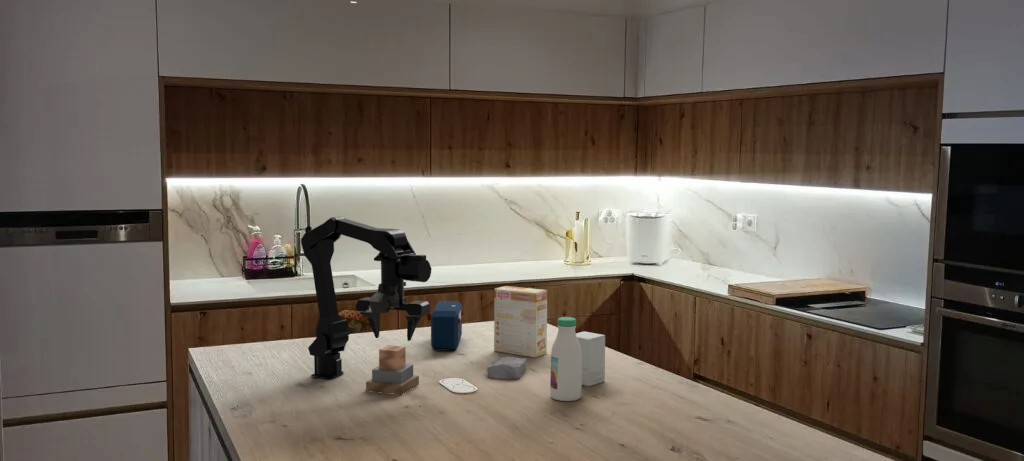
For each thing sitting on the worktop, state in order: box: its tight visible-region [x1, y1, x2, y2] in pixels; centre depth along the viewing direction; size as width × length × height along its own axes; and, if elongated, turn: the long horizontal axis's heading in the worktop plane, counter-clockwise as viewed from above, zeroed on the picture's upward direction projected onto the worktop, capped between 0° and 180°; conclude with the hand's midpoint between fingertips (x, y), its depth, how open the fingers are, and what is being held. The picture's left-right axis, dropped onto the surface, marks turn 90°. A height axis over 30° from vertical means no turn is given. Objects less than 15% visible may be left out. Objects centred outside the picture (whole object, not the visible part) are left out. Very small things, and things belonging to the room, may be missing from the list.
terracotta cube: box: [378, 344, 407, 371], centre depth 219 cm, size 5×5×5 cm
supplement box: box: [575, 330, 606, 387], centre depth 226 cm, size 7×7×13 cm
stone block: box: [486, 356, 527, 380], centre depth 235 cm, size 12×5×10 cm
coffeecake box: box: [493, 285, 548, 358], centre depth 258 cm, size 15×7×20 cm, turn 58°
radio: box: [430, 300, 464, 351], centre depth 268 cm, size 21×9×20 cm, turn 179°
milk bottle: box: [549, 316, 582, 402], centre depth 211 cm, size 8×8×20 cm
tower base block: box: [365, 374, 420, 396], centre depth 220 cm, size 10×10×3 cm
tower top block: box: [371, 363, 414, 384], centre depth 220 cm, size 8×8×3 cm
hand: (392, 339), depth 218 cm, fingers open, 9 cm apart
